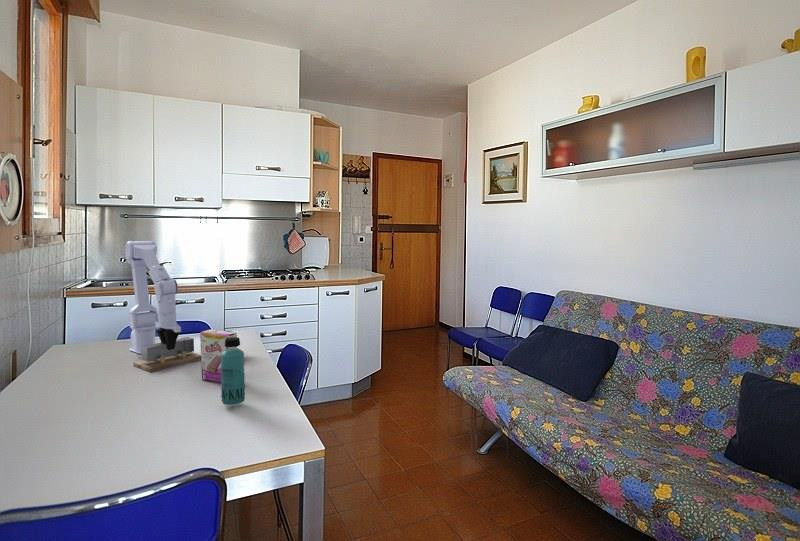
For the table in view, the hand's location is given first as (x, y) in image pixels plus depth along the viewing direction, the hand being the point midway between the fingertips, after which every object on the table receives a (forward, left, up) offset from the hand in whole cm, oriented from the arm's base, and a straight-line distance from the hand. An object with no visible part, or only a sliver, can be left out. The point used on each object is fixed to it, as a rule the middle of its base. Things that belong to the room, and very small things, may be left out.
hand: (168, 348), depth 172 cm
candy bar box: (+32, 0, -5) cm, 32 cm away
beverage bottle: (+54, -10, -5) cm, 55 cm away
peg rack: (0, 0, -5) cm, 5 cm away
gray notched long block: (0, 0, -3) cm, 3 cm away
